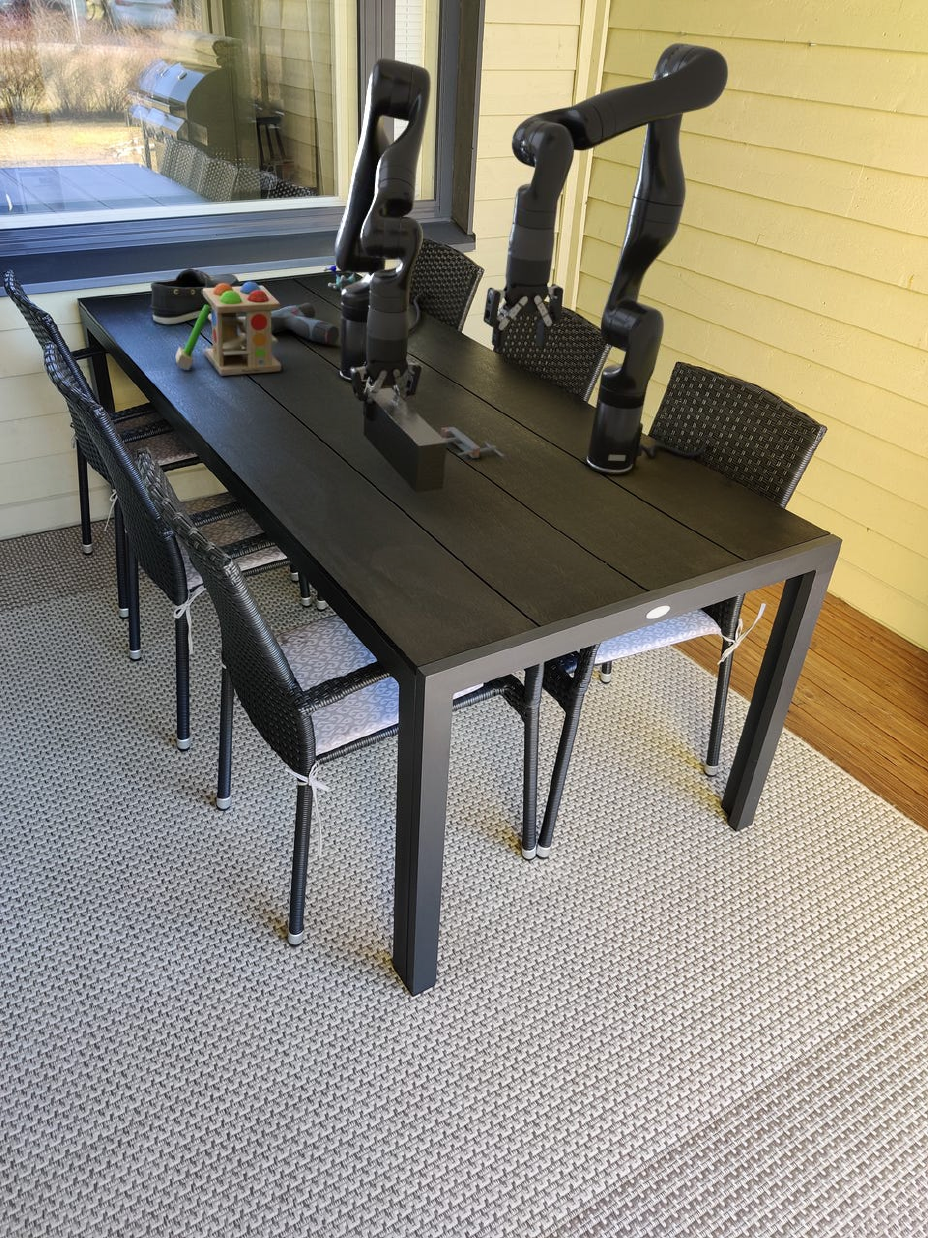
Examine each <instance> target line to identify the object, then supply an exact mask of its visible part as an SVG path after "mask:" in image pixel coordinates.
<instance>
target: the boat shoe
mask: <svg viewBox="0 0 928 1238" xmlns="http://www.w3.org/2000/svg"><path fill="white" fill-rule="evenodd" d="M221 283H226V284H228V285H230V286H231V287H242V286H241V282H240V281H239V279H238V277H237V276H236V275H235V274H232V273H224V274H217V275H214V276H209V275H208V274H207V273H206V272H204V271H203V270H199V269H194V268H186V269H183V270H182V271H181V272H179V273H178V274H177V276H176V277H175V279H173V280H172V279H171V280H165V281H161V280H159V281H153V282H151V283H150V289H151V304H150V308H151V309H152V310H153V312H152V318H153V321H154V322H157V323H158V324H164V325H175V324H180V323H183V322H187V321H190V320H195V319H198V318H199V316H200V314H201V311H202V309H203V307H204V305H208V306H210V307H211V305H210V304H209V302H208V301H207V300H206V299H205V297H204V296H203V289H204V288H215V287H216V286H217V285H218V284H221ZM210 312H211V310H210Z"/></svg>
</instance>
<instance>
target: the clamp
mask: <svg viewBox="0 0 928 1238" xmlns="http://www.w3.org/2000/svg"><path fill="white" fill-rule="evenodd" d="M440 436H441V437H442V438H443V439H444V440H445V441H446V442H447V445H446V446H448V445H449V444H452V443H453V444H454V445H456V446H457V447H458V448H459V449H460V450H462V451H463V452H458V453H457V456H458V457H460V456H469V457H470V458H472V459H477V458H480V454H482V453H487V452H488V453H496V454H497V455H498V456H499V457H500V459H502V460H504V459H506V457H507V456H506V454H504V453H501V452H500V451H499V450H498V447H497V446H496V445H495V444H494V445H491V444H490V443H489V442H488V441H486V440H485V441H484V442H483V446H484V447H483V448H481V447H480V446H479V444H476V443H475V442H474V441H473V440H471V439H470V438H469V437H468V436H466V435H465V434H464V433H463V432H461V431H460V430H459V429H457V428H456V427H455V426H450V427H441V429H440Z"/></svg>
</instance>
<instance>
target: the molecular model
mask: <svg viewBox="0 0 928 1238" xmlns="http://www.w3.org/2000/svg"><path fill="white" fill-rule="evenodd" d="M322 271H323V272H325V273H326V272H328V271H331V272H332V273H334V275H335V277H336V283H331V282H329V283H327V287H329V288H333V289H334V290H337V289H340V291H341V292H342V290H343V289H344V288H343V282H349V283H350V284H353V283H356V282H357V281H356V277H355V275H356V273H351V275H350V276H349V277H348V278H346V276H345V275H341V276H339V274H338V271H337V265H336V262H335V261H334V265H332V266H330V267H326V266H325V267H323V268H322Z"/></svg>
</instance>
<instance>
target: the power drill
mask: <svg viewBox="0 0 928 1238" xmlns="http://www.w3.org/2000/svg"><path fill="white" fill-rule="evenodd" d="M315 315H316V308H315V306H314V305H313V304H312V303H311V302H305V303H300V304H295V305H294V304H293V305H289V306H285V307H283V308H280V310H271V334H272V335H273V334H275V333H276V334H277V333H279V332H282V331H286V330H290V331H292V332H293V333H295V334H296V335H298V336H300V337H302V338H305V339H307V340H309V341H313V342H316V343H319V344H323V345H327V346H333V345H335V344H336V343H337V342H338V340H339V337H340V330H339V328H338V326H336V325H334V324H333V323H332V324H331V323H329V322H328V321H323V320H321V319H317V318H314V317H315Z"/></svg>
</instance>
